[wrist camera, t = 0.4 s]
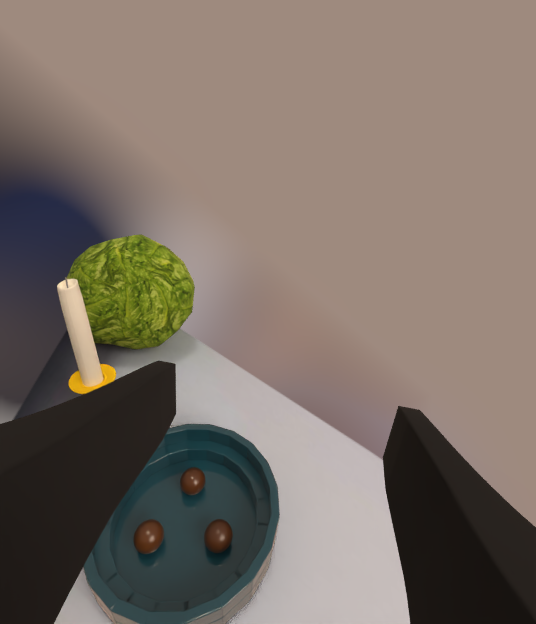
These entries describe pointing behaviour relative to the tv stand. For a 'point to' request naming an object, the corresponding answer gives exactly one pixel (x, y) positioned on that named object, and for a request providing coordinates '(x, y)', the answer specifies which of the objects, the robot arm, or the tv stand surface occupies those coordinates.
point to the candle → (82, 341)
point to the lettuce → (133, 291)
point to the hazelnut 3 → (218, 536)
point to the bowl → (188, 533)
